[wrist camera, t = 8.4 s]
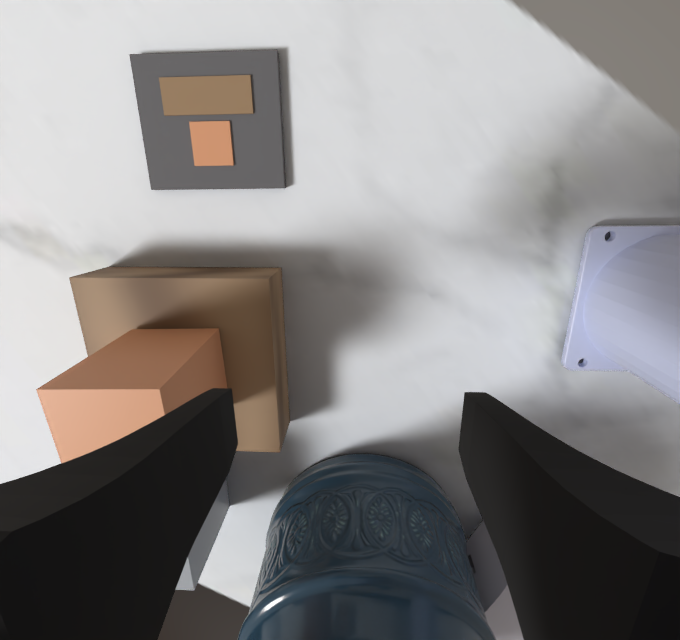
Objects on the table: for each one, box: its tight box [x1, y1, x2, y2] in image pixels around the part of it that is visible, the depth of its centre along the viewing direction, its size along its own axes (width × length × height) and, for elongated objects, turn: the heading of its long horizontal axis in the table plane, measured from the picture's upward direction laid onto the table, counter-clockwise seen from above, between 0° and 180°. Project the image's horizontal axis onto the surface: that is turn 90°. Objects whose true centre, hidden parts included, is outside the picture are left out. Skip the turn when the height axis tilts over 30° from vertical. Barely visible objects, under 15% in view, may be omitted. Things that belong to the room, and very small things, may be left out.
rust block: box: [36, 328, 227, 463], centre depth 17 cm, size 4×4×6 cm
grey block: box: [175, 479, 230, 590], centre depth 23 cm, size 4×4×6 cm
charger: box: [466, 521, 524, 640], centre depth 25 cm, size 5×9×15 cm
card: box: [130, 50, 286, 190], centre depth 18 cm, size 7×6×1 cm
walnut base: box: [69, 267, 290, 452], centre depth 21 cm, size 10×10×4 cm
